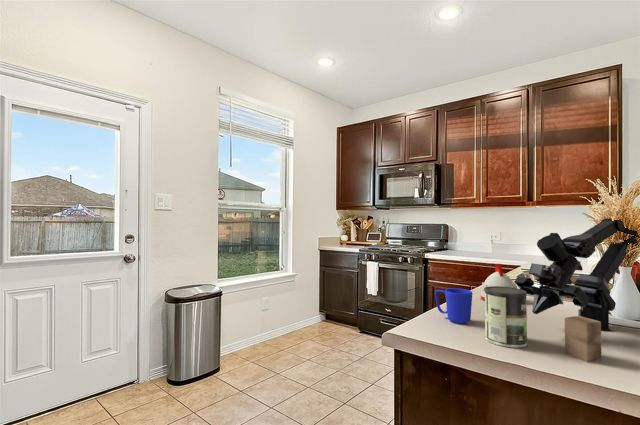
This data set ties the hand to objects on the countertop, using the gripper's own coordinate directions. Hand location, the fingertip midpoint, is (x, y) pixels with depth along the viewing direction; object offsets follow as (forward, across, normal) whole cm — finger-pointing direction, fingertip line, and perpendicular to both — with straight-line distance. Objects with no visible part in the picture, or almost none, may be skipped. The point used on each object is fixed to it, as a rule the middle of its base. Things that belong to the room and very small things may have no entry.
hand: (534, 313), depth 94 cm
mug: (+13, -20, -4) cm, 24 cm away
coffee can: (+12, 0, -3) cm, 13 cm away
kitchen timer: (-12, -35, +23) cm, 44 cm away
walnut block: (+6, +14, +3) cm, 16 cm away
